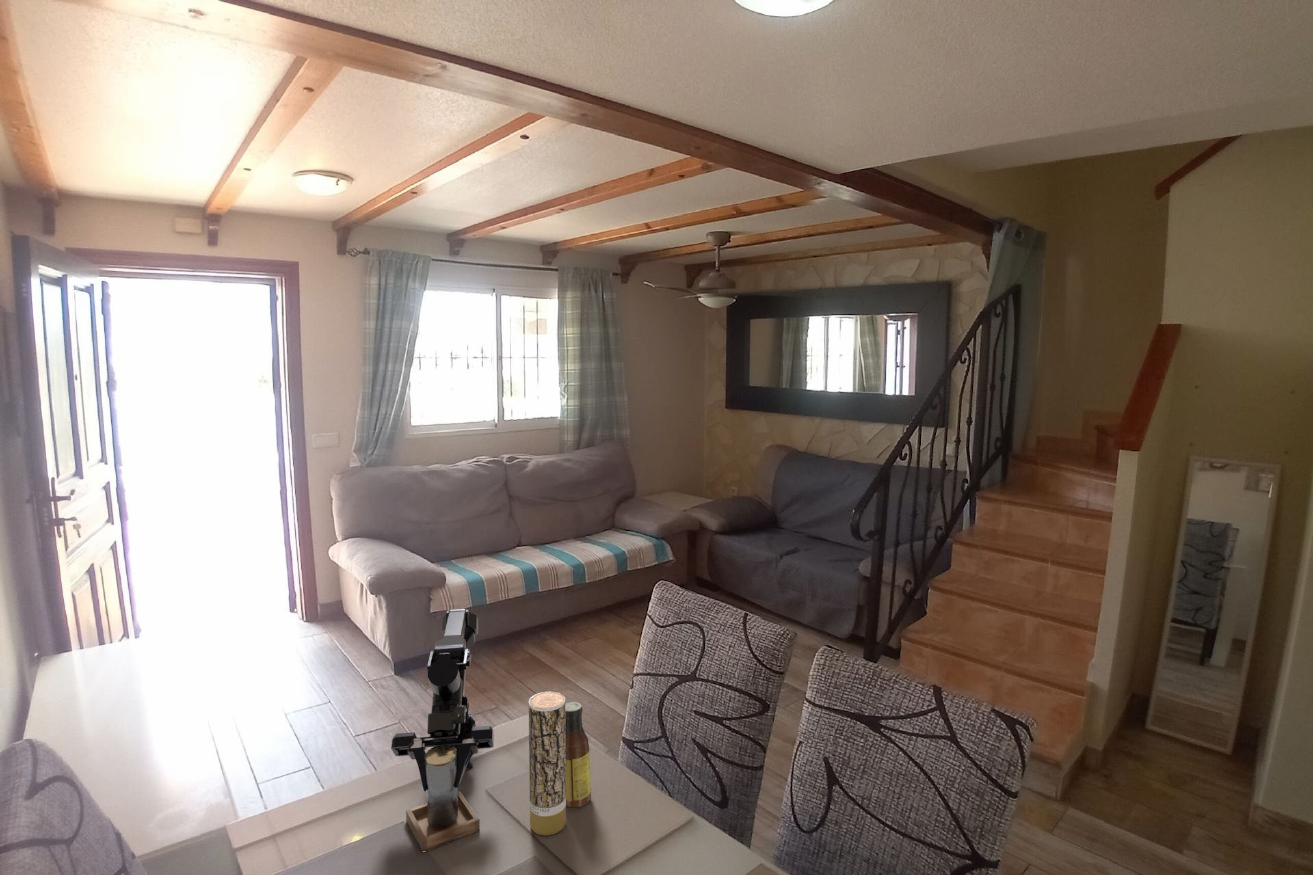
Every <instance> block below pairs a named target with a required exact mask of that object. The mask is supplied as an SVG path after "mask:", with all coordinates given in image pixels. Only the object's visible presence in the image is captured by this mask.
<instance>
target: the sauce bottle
mask: <svg viewBox="0 0 1313 875" xmlns="http://www.w3.org/2000/svg"><path fill="white" fill-rule="evenodd" d="M582 714H583V705H582V704H581V703H580V702H578V701H570V702H565V733H566V807H570V808H572V809H573V808H575V809H576V808H580V807H584V806H585V805H587V804H588V803H589V802H590V801H591V797H592V795H591V794H592V778H591V775H592V774H591V758H590V754H591V753H590V744H589V738H588V736H587V734H586V732H585V730H584V727H583V719H582V717H583V715H582Z"/></svg>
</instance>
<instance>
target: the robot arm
mask: <svg viewBox="0 0 1313 875" xmlns="http://www.w3.org/2000/svg"><path fill="white" fill-rule="evenodd" d="M440 632H441V636H442V638H441V639H439V640H437V641H435V644H434V647H433V650H431V651H430V654H429V658H428V662H427V667H426V668H427V678H428V681H429V685H430V688H431V690H432V702H431V713H428V714H427V729H426V730H427V731H426V733H427V734H428V735H429V736H422V737H417V735H416V732H415V731H414V732H413V731H412V732H400V733H395V735H394V736H393V737H392V739H391V747H390V750H391V751H392V752H393V754H394V756H395V757H407V756H408V757H409V758H410V759H411V760H415V761H416V764H417V768H418V771H419V776H420V779H421V780H420V781H421V785H422V789H423V792H427V787H426V753H427V751H426V749H427V748H433V747H435V746H439V745H452V746H454V747H455V748H456V749H457V777H456V788H457V789H458V788H459V787H460V785H461V782H462V780H463V776H464V774H465V771H466V770H468V769H471V768H473V767H474V764H473V762H472V761H471V759H472V757H473V755H475V754H479V750H483V749H491V748H493V747H495V746H494V743H495V742H494V741H495V737H494V736H495V735H494V728H493V727H492V725H484V726H483V725H482V726H480V725H479V726H477V725H476V724H477V722H476V720H475V719H474V717H473V713H470V702H468V701H469V700H468V698H467V696H465V690H466V689H465V688H466V675H467V670H468V667H470V666H471V661H472V653H471V652H470V650H471V649H472V647H474V645H475V643H476V636H477V635H479V619H478V615H477V614H475V613H472V612H470V610H469V608H465V607H464V608H449V609H447V610H446V613H445V614H444V616H442V617H441V631H440Z"/></svg>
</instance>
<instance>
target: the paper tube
mask: <svg viewBox="0 0 1313 875" xmlns="http://www.w3.org/2000/svg"><path fill="white" fill-rule="evenodd" d="M565 704H566V697H565V696H564V695H563V694H562V693H560V692H558V691H557V692H556V691H542V692H538V693H536V694H534V695H532V696H531V697H529V700H528V746H529V747H528V756H529V757H528V758H529V759H528V761H529V766H528V767H529V768H528V769H529V822H530V823H529V825H530V826H529V827H530V828H531V830H532V831H533V832H534V833H535V834H537V835H540V836H552V835H556V834H558V833H559V832H561V830H563V828H564V827H565V825H566V821H567V806H566V733H565Z"/></svg>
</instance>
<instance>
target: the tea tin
mask: <svg viewBox="0 0 1313 875" xmlns="http://www.w3.org/2000/svg"><path fill="white" fill-rule="evenodd" d="M456 777H457V749H456V748H455V747H454V746H452V745H439V746H435V747H430V749H428V750H427V751H426V787H427V789H426V803H427V822H428V824H429V825H430V826H433V827H444V826H448V825H450V824H452V823H453V822H454V821H455V820H456V819H457V817H458V792H459V791H458V790H459V789H458V788H456Z"/></svg>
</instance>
